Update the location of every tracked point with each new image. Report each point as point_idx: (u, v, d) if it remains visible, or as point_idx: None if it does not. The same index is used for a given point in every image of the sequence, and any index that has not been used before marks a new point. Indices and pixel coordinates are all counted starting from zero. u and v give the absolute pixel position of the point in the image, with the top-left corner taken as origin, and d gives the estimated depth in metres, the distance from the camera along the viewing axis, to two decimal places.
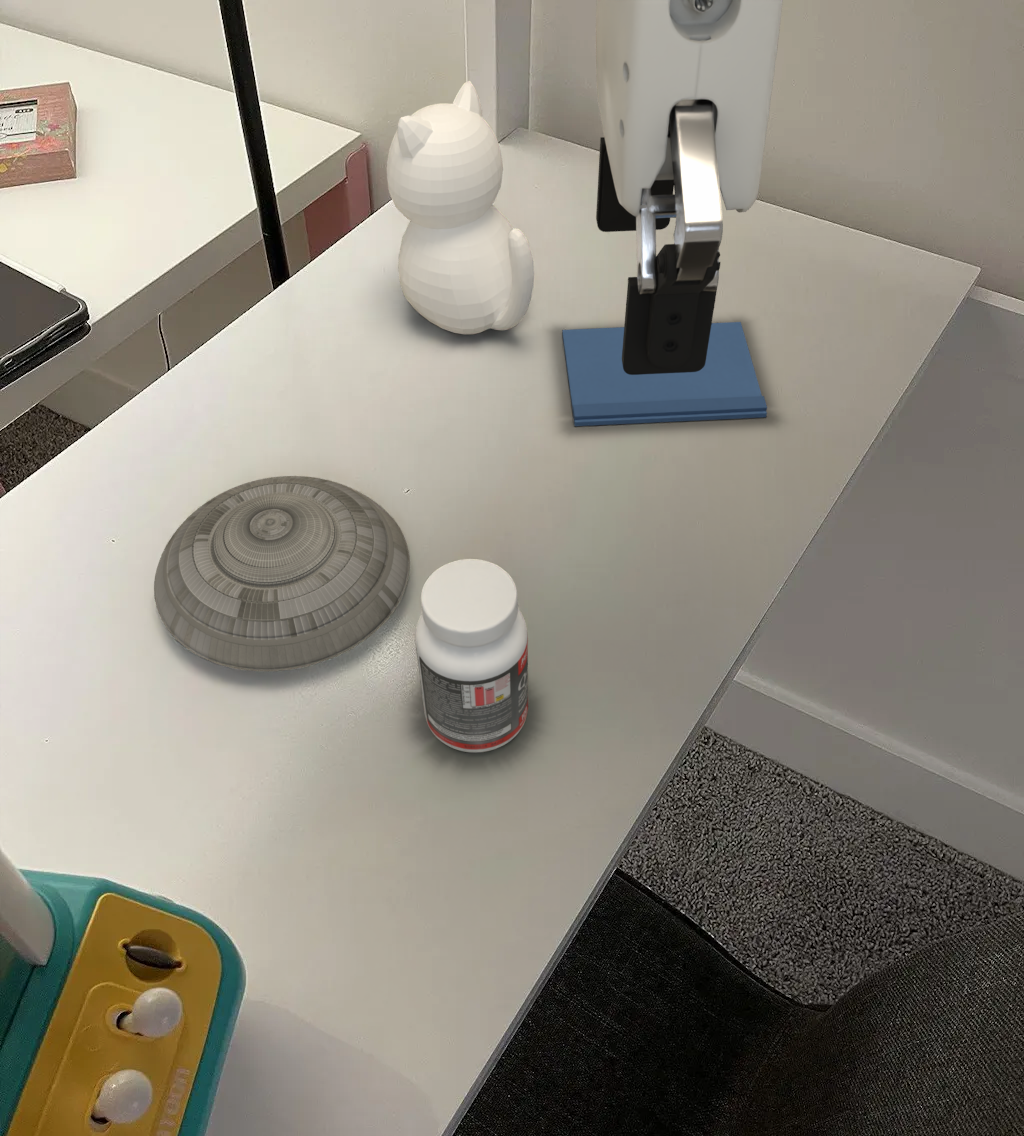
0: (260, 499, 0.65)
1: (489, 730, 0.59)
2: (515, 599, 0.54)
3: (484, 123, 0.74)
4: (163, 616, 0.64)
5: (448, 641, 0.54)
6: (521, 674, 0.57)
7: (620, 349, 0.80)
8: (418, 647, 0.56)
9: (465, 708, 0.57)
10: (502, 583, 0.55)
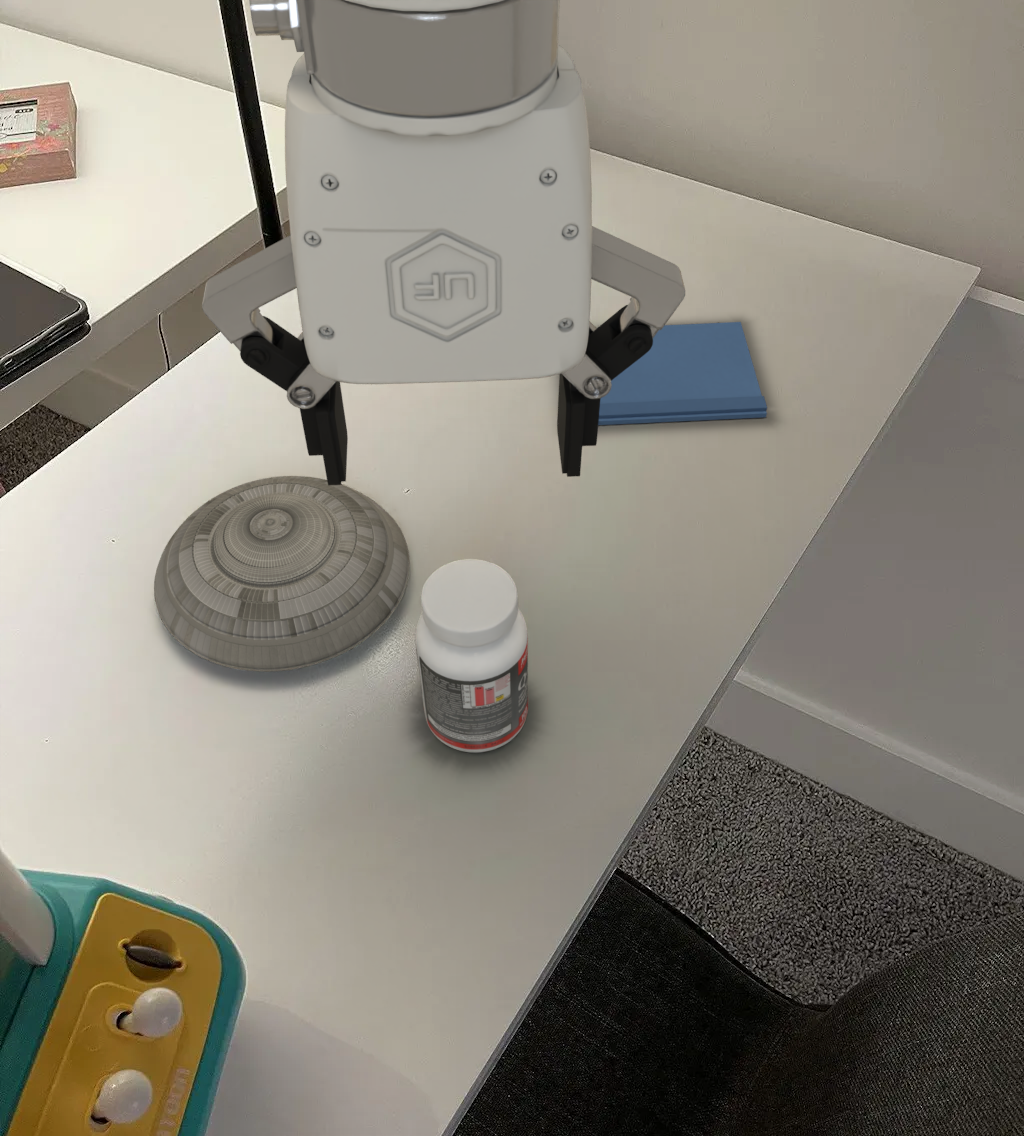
0: (260, 499, 0.65)
1: (489, 730, 0.59)
2: (515, 599, 0.54)
3: None
4: (163, 616, 0.64)
5: (448, 641, 0.54)
6: (521, 674, 0.57)
7: None
8: (418, 647, 0.56)
9: (465, 708, 0.57)
10: (502, 583, 0.55)
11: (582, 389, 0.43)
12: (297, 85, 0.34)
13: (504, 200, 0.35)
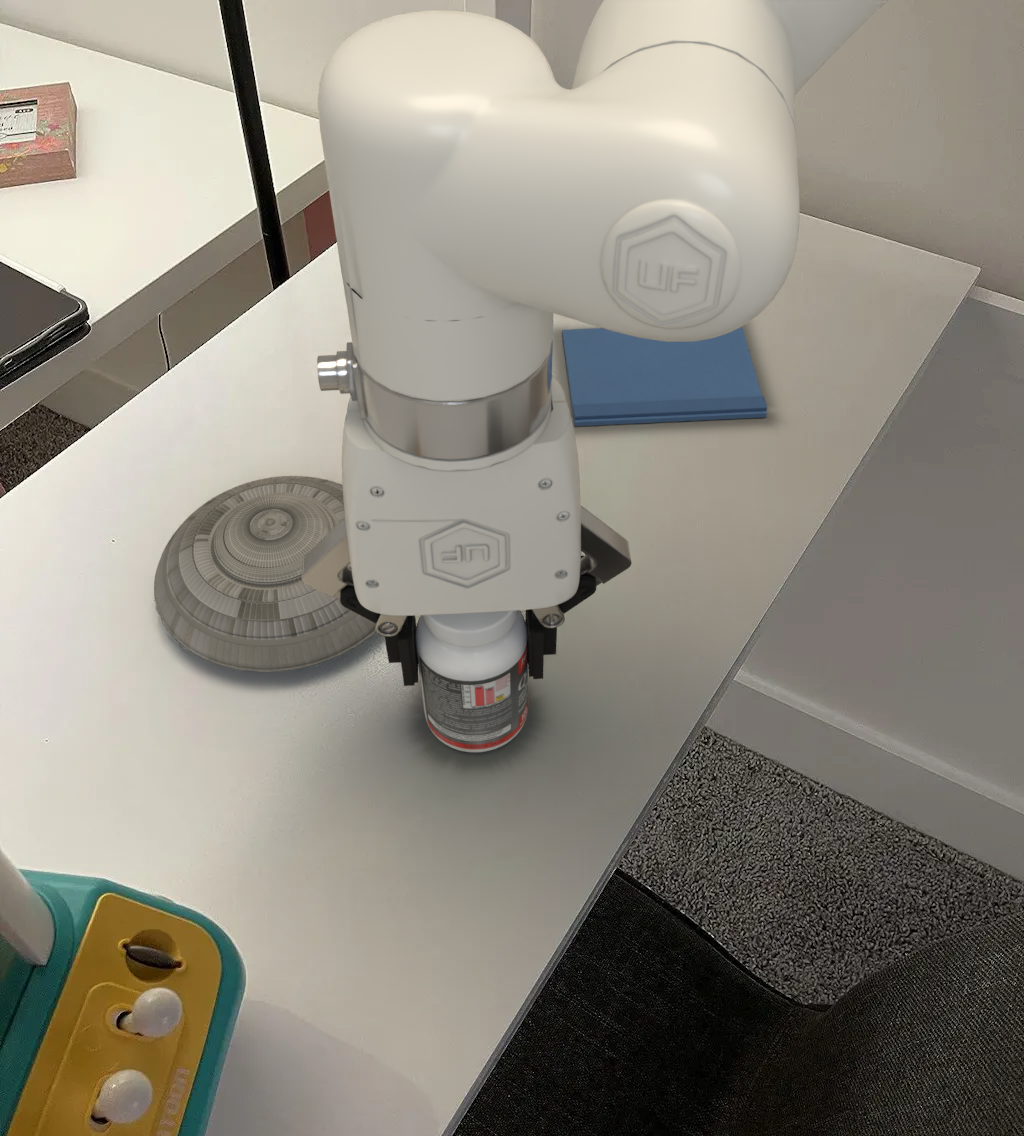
0: (260, 499, 0.65)
1: (489, 730, 0.59)
2: None
3: None
4: (163, 616, 0.64)
5: (448, 641, 0.54)
6: (521, 674, 0.57)
7: (620, 349, 0.80)
8: (418, 647, 0.56)
9: (465, 708, 0.57)
10: None
11: (541, 622, 0.54)
12: (352, 421, 0.44)
13: (511, 500, 0.45)
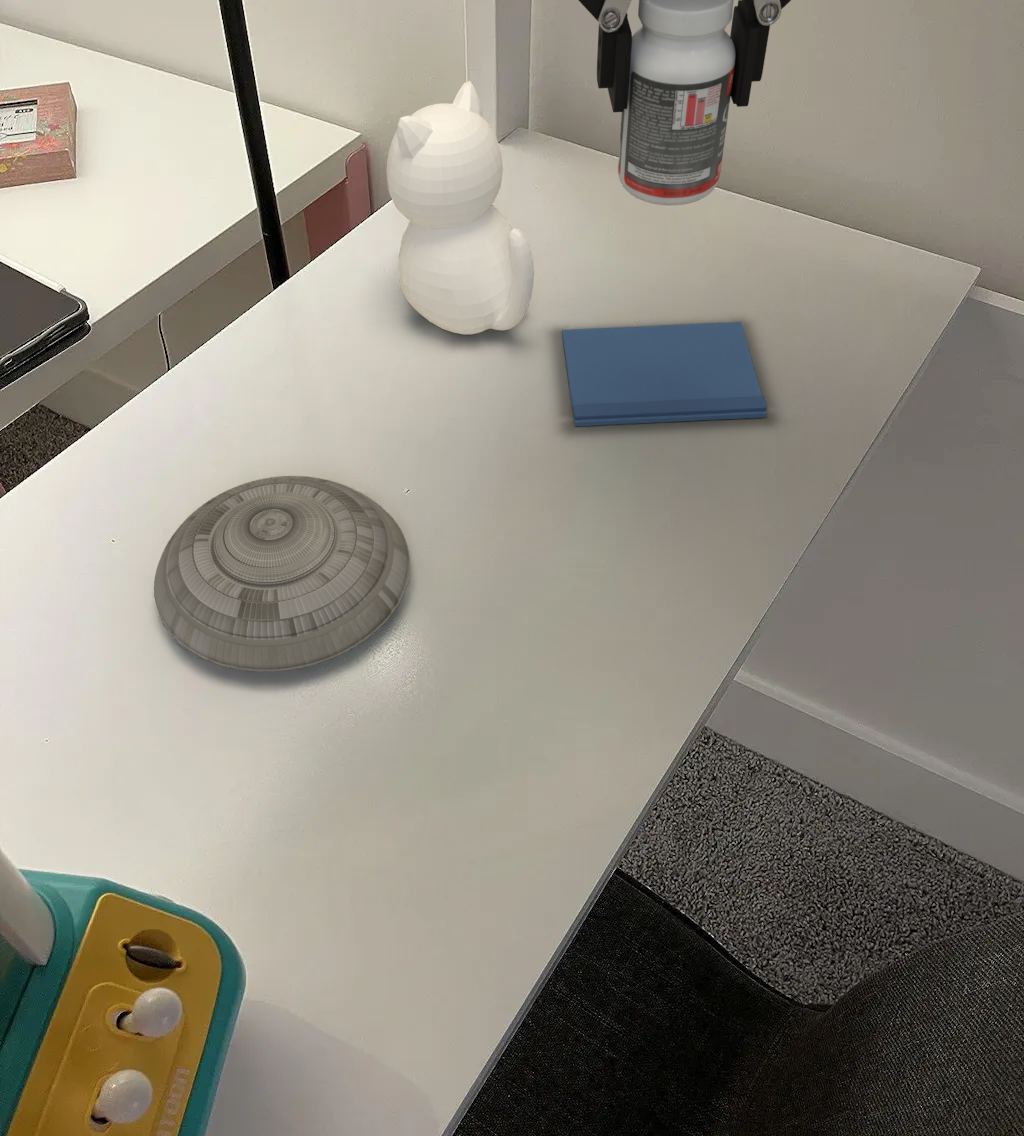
0: (260, 499, 0.65)
1: (691, 167, 0.60)
2: None
3: (484, 123, 0.74)
4: (163, 616, 0.64)
5: (669, 31, 0.55)
6: (727, 99, 0.59)
7: (620, 349, 0.80)
8: (632, 60, 0.58)
9: (674, 130, 0.59)
10: None
11: (758, 15, 0.56)
12: None
13: None
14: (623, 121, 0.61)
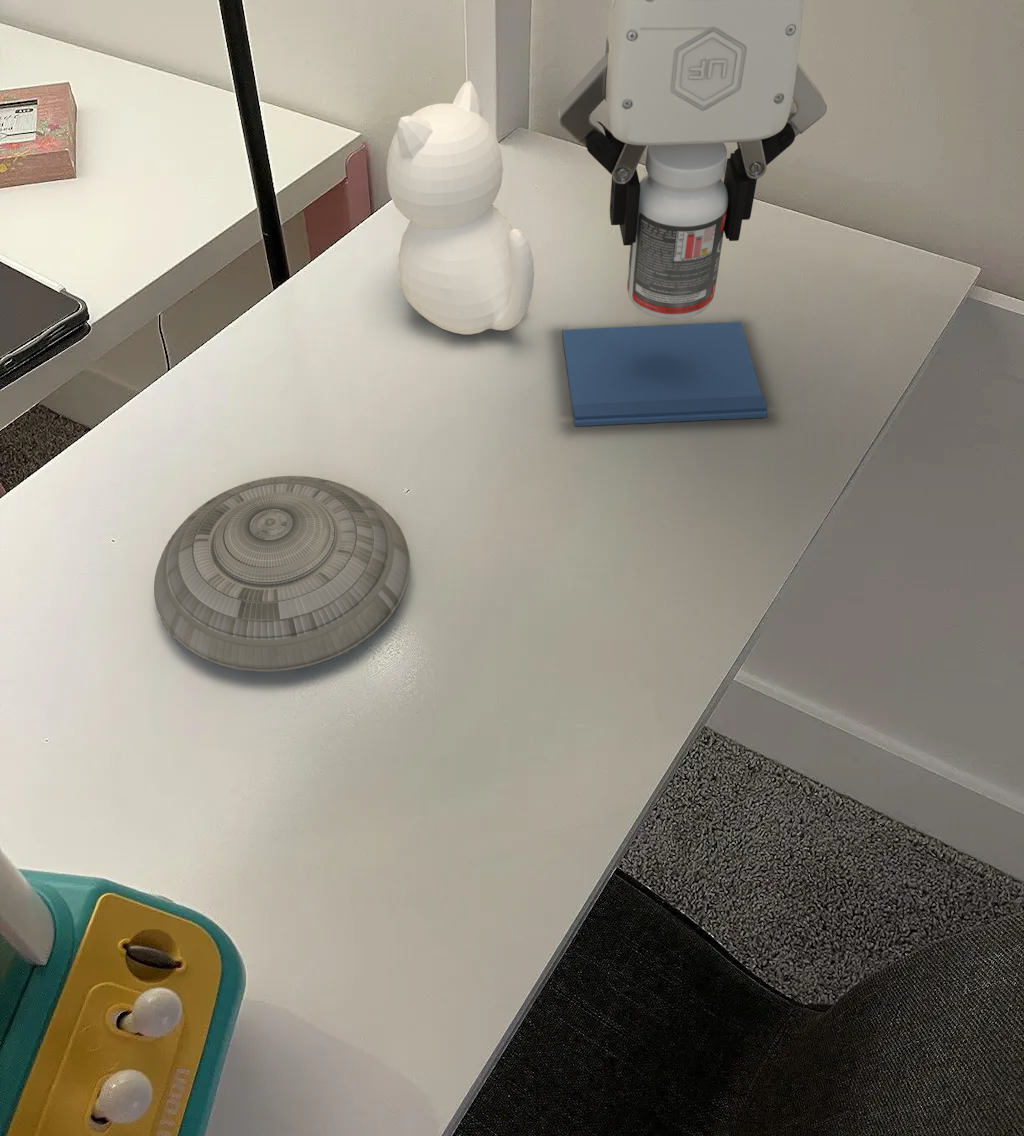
0: (260, 499, 0.65)
1: (690, 290, 0.71)
2: (726, 152, 0.66)
3: (484, 123, 0.74)
4: (163, 616, 0.64)
5: (671, 184, 0.66)
6: (721, 234, 0.69)
7: (620, 349, 0.80)
8: (640, 204, 0.68)
9: (675, 261, 0.69)
10: None
11: (747, 171, 0.66)
12: None
13: (754, 7, 0.57)
14: (632, 250, 0.71)
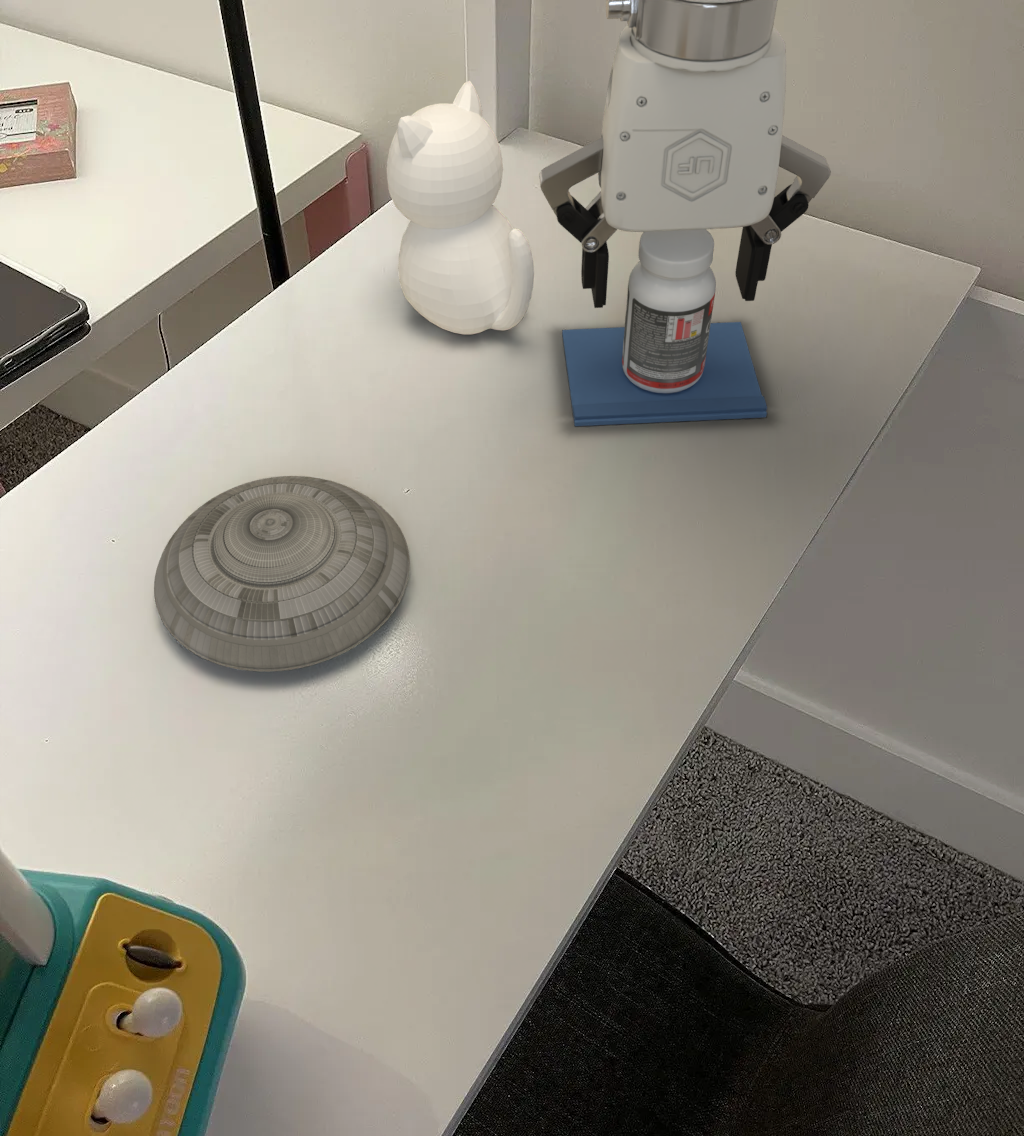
0: (260, 499, 0.65)
1: (681, 367, 0.75)
2: (713, 243, 0.71)
3: (484, 123, 0.74)
4: (163, 616, 0.64)
5: (662, 274, 0.70)
6: (709, 317, 0.74)
7: (620, 349, 0.80)
8: (633, 290, 0.72)
9: (666, 342, 0.73)
10: (701, 234, 0.71)
11: (762, 237, 0.69)
12: (625, 46, 0.61)
13: (738, 111, 0.62)
14: (626, 329, 0.75)
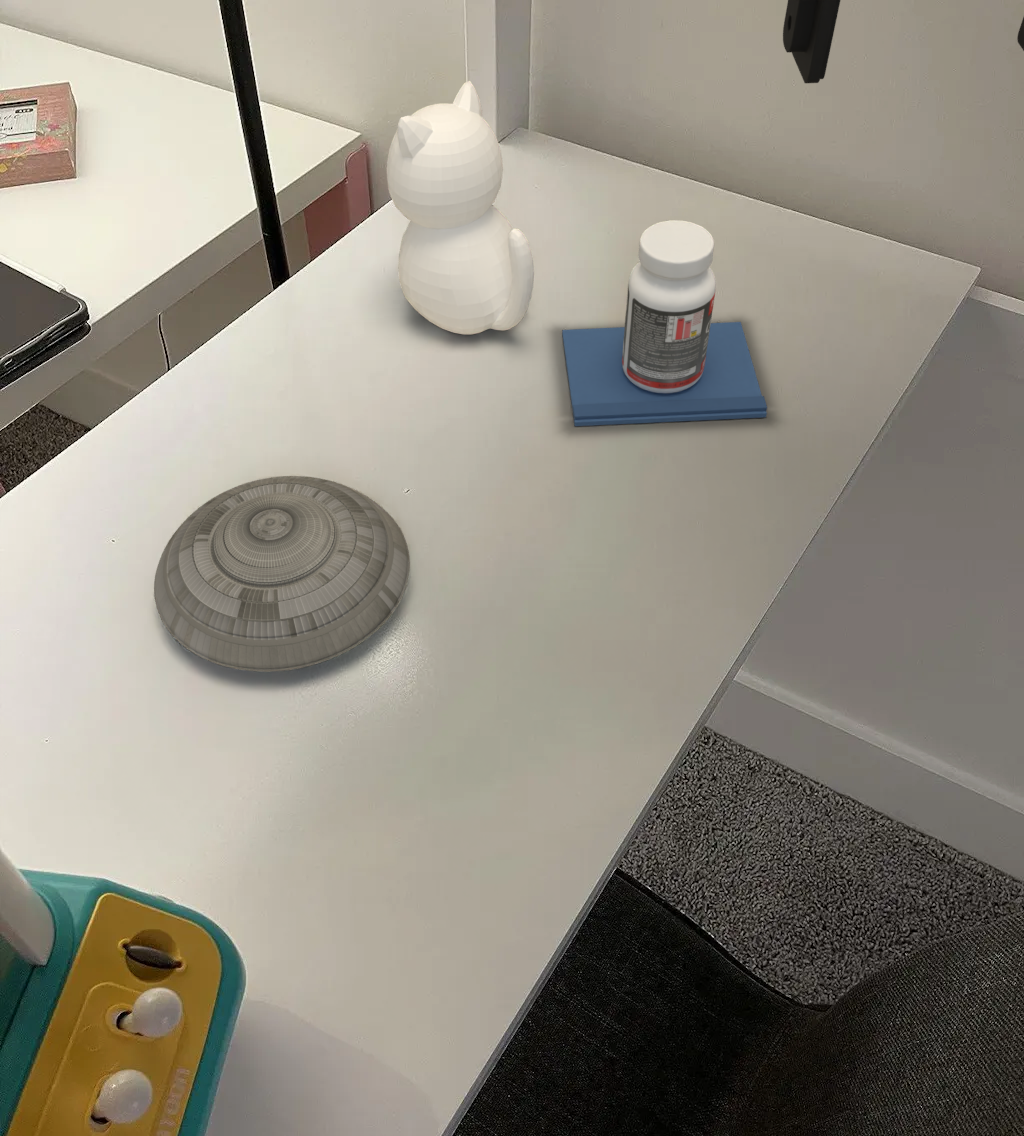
0: (260, 499, 0.65)
1: (681, 367, 0.75)
2: (713, 243, 0.71)
3: (484, 123, 0.74)
4: (163, 616, 0.64)
5: (662, 274, 0.70)
6: (709, 317, 0.74)
7: (620, 349, 0.80)
8: (633, 290, 0.72)
9: (666, 342, 0.73)
10: (701, 234, 0.71)
11: None
12: None
13: None
14: (626, 329, 0.75)
